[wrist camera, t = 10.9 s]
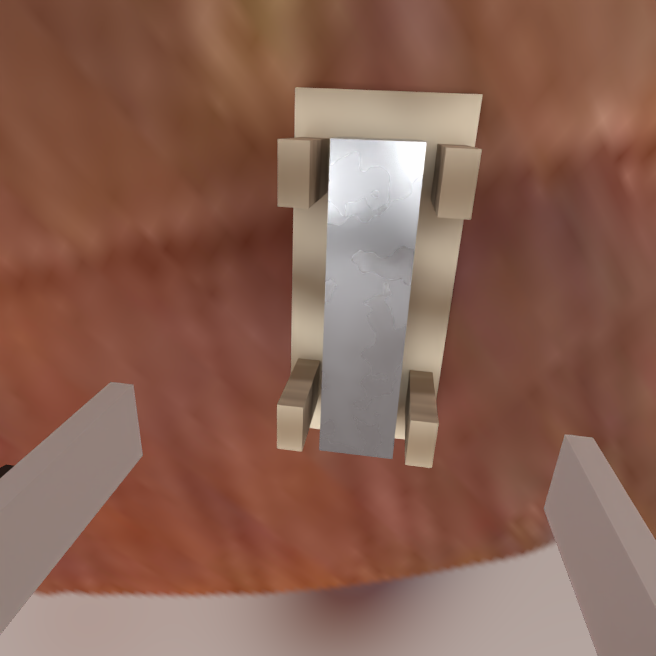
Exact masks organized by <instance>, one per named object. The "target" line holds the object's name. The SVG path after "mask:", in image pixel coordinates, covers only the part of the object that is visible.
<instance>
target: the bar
mask: <svg viewBox="0 0 656 656" xmlns="http://www.w3.org/2000/svg"><path fill="white" fill-rule="evenodd" d="M425 151H426V142H425V141H423V140H405V139H381V138H357V137H337V138H330V162H329V191H328V219H327V247H326V276H325V304H324V333H323V361H322V389H321V418H320V446H319V450H322V451H331V452H339V453H347V454H355V455H364V456H372V457H380V458H388V459H392V457H393V448H394V438H395V429H396V420H397V411H398V401H399V392H400V383H401V373H402V364H403V355H404V346H405V336H406V327H407V318H408V309H409V299H410V290H411V281H412V272H413V262H414V253H415V244H416V235H417V225H418V216H419V207H420V197H421V188H422V179H423V170H424V160H425Z"/></svg>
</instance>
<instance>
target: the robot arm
mask: <svg viewBox="0 0 656 656" xmlns="http://www.w3.org/2000/svg"><path fill="white" fill-rule="evenodd" d="M142 456H143V454H142V446H141V439H140V431H139V424H138V416H137V409H136V401H135V394H134V386H133V385H132V384H123V383H115V382H110V383H109V384H108V385H107V386H106V387H104V388H103V389H102V390H101V391H100V392H99V393H98V394H96V395H95V396H94V397H93V398H92V399H91V400H90V401H88V402H87V403H86V404H85V405H84V406H83V407H82V408H80V409H79V410H78V411H77V412H76V413H75V414H74V415H72V416H71V417H70V418H69V419H68V420H67V421H65V422H64V423H63V424H62V425H61V426H60V427H59V428H57V429H56V430H55V431H54V432H53V433H52V434H51V435H49V436H48V437H47V438H46V439H45V440H44V441H43V442H41V443H40V444H39V445H38V446H37V447H36V448H35V449H33V450H32V451H31V452H30V453H29V454H28V455H27V456H25V457H24V458H23V459H22V460H21V461H20V462H18V463H17V464H16V465H15V466H12V465H5V466H3V467H1V468H0V634H1V633H2V632H3V631H4V629H5V628H6V627H7V626H8V624H9V623H10V622H11V621H12V619H13V618H14V617H15V616H16V614H17V613H18V612H19V611H20V609H21V608H22V607H23V605H24V604H25V603H26V602H27V600H28V599H29V598H30V597H31V595H32V594H33V593H34V592H35V590H36V589H37V588H38V587H39V585H40V584H41V583H42V582H43V580H44V579H45V578H46V577H47V575H48V574H49V573H50V571H51V570H52V569H53V568H54V566H55V565H56V564H57V563H58V561H59V560H60V559H61V558H62V556H63V555H64V554H65V553H66V551H67V550H68V549H69V548H70V546H71V545H72V544H73V542H74V541H75V540H76V539H77V537H78V536H79V535H80V534H81V532H82V531H83V530H84V529H85V527H86V526H87V525H88V524H89V522H90V521H91V520H92V519H93V517H94V516H95V515H96V514H97V512H98V511H99V510H100V508H101V507H102V506H103V505H104V503H105V502H106V501H107V500H108V498H109V497H110V496H111V495H112V493H113V492H114V491H115V490H116V488H117V487H118V486H119V485H120V483H121V482H122V481H123V479H124V478H125V477H126V476H127V474H128V473H129V472H130V471H131V469H132V468H133V467H134V466H135V464H136V463H137V462H138V461H139V459H140V458H141V457H142ZM544 511H545V513H546V516H547V519H548V522H549V524H550V527H551V530H552V532H553V535H554V538H555V541H556V543H557V546H558V549H559V551H560V554H561V557H562V560H563V562H564V565H565V568H566V570H567V573H568V576H569V579H570V581H571V584H572V587H573V589H574V592H575V595H576V598H577V600H578V603H579V606H580V608H581V611H582V614H583V617H584V619H585V622H586V624H587V628H588V630H589V633H590V636H591V639H592V641H593V644H594V647H595V649H596V652H597V655H598V656H656V540H655V539H654V537H653V535H652V534H651V532H650V530H649V529H648V527H647V526H646V524H645V522H644V521H643V519H642V517H641V516H640V514H639V512H638V511H637V509H636V507H635V506H634V504H633V503H632V501H631V499H630V498H629V496H628V494H627V493H626V491H625V489H624V488H623V486H622V484H621V483H620V481H619V480H618V478H617V476H616V475H615V473H614V471H613V470H612V468H611V466H610V465H609V463H608V462H607V460H606V458H605V457H604V455H603V453H602V452H601V450H600V448H599V447H598V445H597V443H596V442H595V440H594V439H593V438H591V437H582V436H574V435H565V436H564V439H563V443H562V446H561V450H560V453H559V457H558V460H557V464H556V467H555V471H554V475H553V478H552V482H551V485H550V489H549V492H548V496H547V499H546V503H545V506H544Z"/></svg>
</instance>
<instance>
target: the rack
mask: <svg viewBox="0 0 656 656" xmlns="http://www.w3.org/2000/svg"><path fill="white" fill-rule="evenodd" d="M482 95H483V94H458V93H432V92H406V91H379V90H353V89H327V88H300V87H295V132H294V138H283V139H278V207H291V208H293V267H292V334H291V375H290V378H289V380H288V382H287V384H286V386H285V388H284V391H283V393H282V395H281V397H280V399H279V402H278V404H277V448H279V449H286V450H294V451H302V450H303V447H304V443H305V440H306V437H307V434H308V431H309V428H315V429H320V418H321V389H322V361H323V333H324V304H325V276H326V247H327V219H328V191H329V162H330V138H337V137H357V138H381V139H405V140H423V141H425V142H426V151H425V160H424V170H423V179H422V188H421V197H420V207H419V216H418V225H417V235H416V244H415V253H414V262H413V272H412V281H411V290H410V299H409V309H408V318H407V327H406V336H405V346H404V355H403V364H402V373H401V383H400V392H399V401H398V411H397V420H396V429H395V438H397V439H405V465H412V466H419V467H427V468H432V463H433V456H434V450H435V444H436V437H437V431H438V425H439V422H438V414H437V405H436V398H437V392H438V385H439V379H440V372H441V365H442V359H443V352H444V346H445V339H446V332H447V326H448V319H449V313H450V306H451V300H452V293H453V286H454V280H455V273H456V267H457V260H458V253H459V247H460V240H461V234H462V227H463V221H464V219H468V220H471V215H472V209H473V203H474V196H475V190H476V184H477V177H478V171H479V165H480V158H481V152H482V149H479V148H475V142H476V135H477V128H478V122H479V115H480V109H481V102H482Z"/></svg>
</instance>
